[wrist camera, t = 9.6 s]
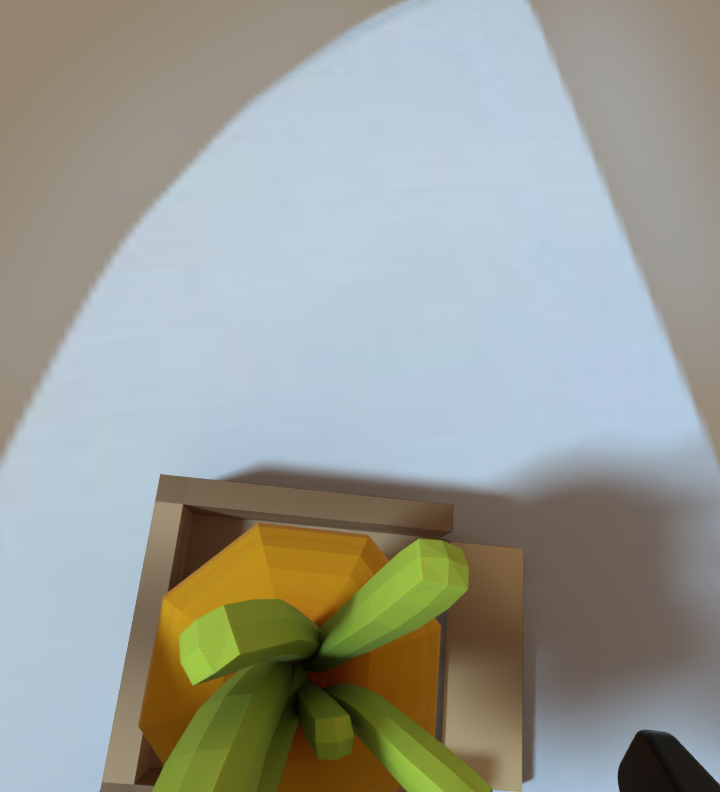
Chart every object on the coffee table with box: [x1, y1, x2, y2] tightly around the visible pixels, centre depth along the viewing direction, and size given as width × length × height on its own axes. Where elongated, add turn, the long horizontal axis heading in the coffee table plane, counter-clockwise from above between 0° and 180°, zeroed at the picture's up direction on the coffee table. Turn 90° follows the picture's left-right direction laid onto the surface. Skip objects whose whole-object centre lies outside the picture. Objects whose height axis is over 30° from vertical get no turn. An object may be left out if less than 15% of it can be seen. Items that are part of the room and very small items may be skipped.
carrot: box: [138, 523, 492, 792], centre depth 13 cm, size 5×5×15 cm
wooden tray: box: [100, 474, 523, 792], centre depth 20 cm, size 9×12×3 cm
